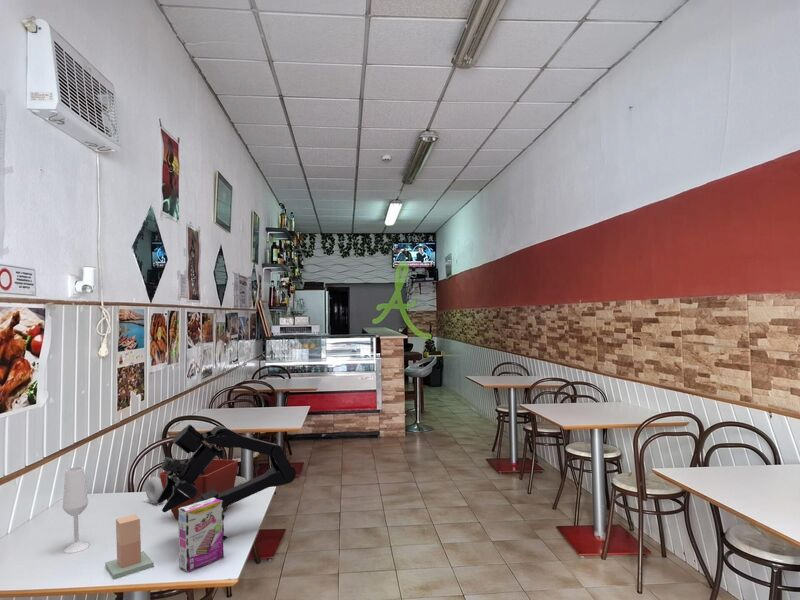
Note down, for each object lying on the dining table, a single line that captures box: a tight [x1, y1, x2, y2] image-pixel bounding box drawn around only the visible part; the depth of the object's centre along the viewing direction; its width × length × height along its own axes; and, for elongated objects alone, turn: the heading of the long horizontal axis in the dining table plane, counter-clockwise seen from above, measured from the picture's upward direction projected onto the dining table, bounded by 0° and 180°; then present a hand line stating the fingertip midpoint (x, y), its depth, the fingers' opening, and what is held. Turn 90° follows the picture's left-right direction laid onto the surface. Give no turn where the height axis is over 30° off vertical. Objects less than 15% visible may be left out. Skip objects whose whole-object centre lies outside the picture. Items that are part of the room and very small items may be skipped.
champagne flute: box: [62, 466, 90, 554], centre depth 163 cm, size 7×7×24 cm
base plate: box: [104, 551, 155, 580], centre depth 148 cm, size 10×10×1 cm
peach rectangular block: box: [115, 514, 142, 568], centre depth 149 cm, size 5×5×12 cm
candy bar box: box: [178, 498, 224, 573], centre depth 149 cm, size 11×5×16 cm, turn 141°
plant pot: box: [159, 458, 239, 521], centre depth 187 cm, size 19×19×17 cm
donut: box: [145, 476, 163, 505], centre depth 201 cm, size 10×4×10 cm, turn 53°
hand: (160, 507), depth 156 cm, fingers open, 9 cm apart
